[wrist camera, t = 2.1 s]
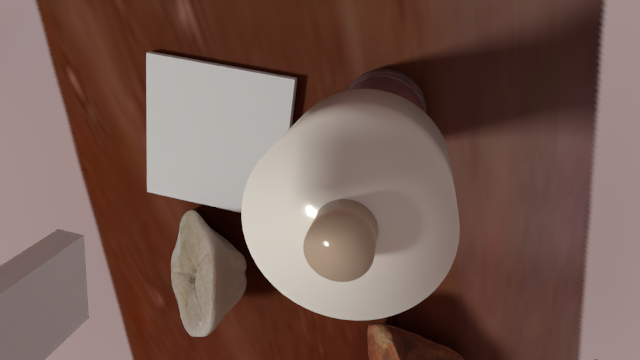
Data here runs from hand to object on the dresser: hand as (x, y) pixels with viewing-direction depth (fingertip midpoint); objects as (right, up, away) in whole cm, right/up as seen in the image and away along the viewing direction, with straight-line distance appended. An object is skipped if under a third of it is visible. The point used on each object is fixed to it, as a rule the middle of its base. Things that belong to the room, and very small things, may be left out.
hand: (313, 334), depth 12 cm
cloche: (+2, +4, +11) cm, 12 cm away
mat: (-8, +8, +27) cm, 29 cm away
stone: (-10, -3, +32) cm, 33 cm away
